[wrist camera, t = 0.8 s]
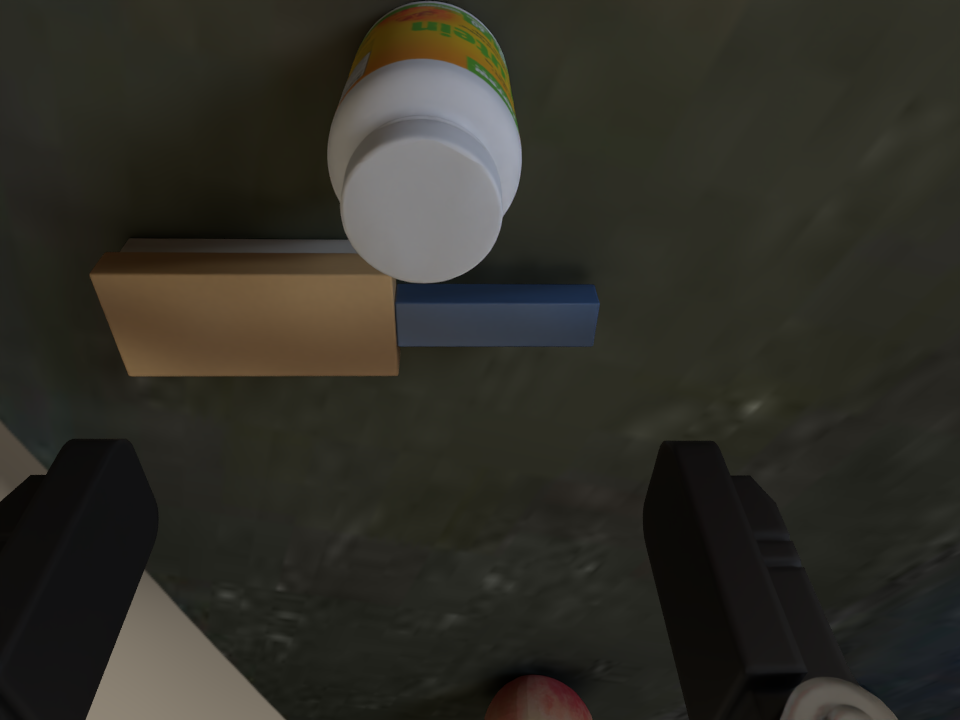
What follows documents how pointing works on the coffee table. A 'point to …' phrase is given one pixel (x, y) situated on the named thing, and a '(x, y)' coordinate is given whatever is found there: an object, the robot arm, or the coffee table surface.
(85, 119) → the coffee table surface
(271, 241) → the brush
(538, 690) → the fruit
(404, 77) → the supplement bottle
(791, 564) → the robot arm
